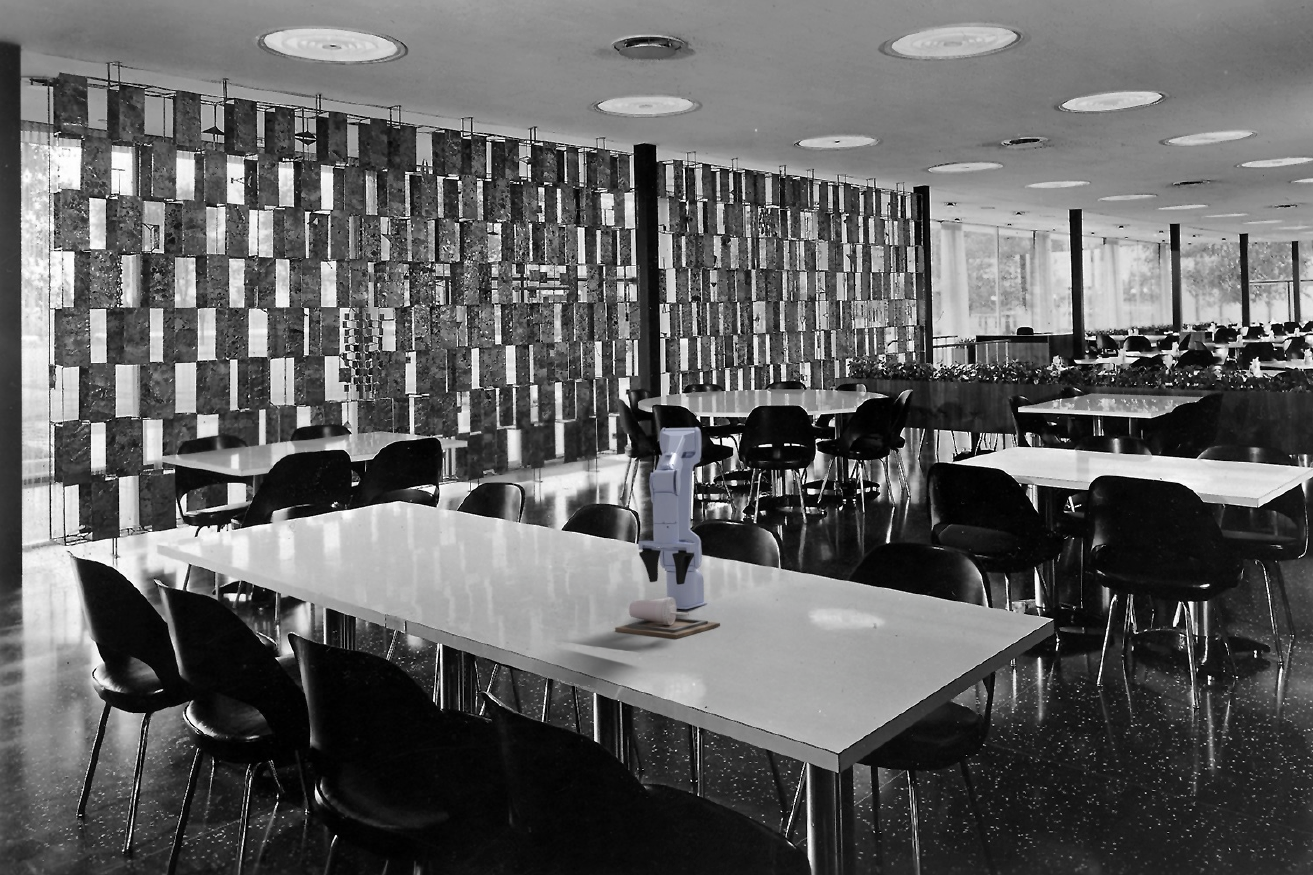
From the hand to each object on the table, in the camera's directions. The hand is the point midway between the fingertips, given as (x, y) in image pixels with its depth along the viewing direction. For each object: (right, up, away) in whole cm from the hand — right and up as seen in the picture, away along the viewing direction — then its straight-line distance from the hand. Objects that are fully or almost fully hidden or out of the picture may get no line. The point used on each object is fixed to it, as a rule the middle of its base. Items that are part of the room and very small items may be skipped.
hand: (666, 582), depth 238 cm
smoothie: (-8, -7, +4) cm, 11 cm away
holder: (0, -10, 0) cm, 10 cm away
